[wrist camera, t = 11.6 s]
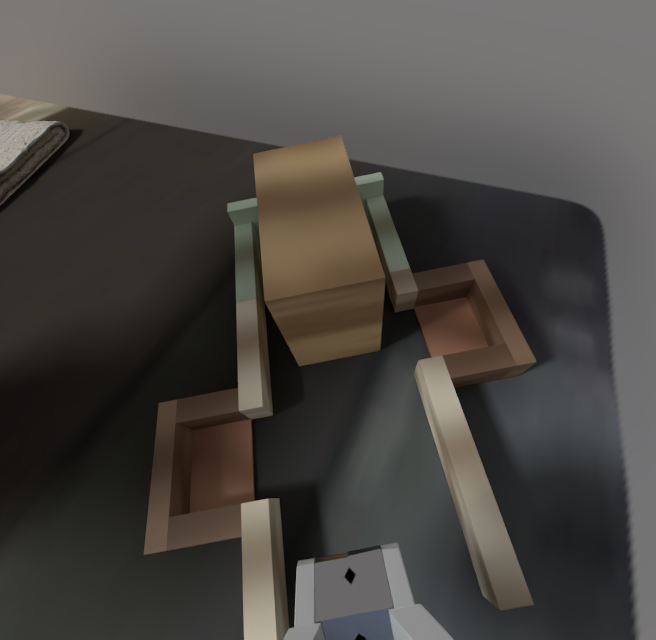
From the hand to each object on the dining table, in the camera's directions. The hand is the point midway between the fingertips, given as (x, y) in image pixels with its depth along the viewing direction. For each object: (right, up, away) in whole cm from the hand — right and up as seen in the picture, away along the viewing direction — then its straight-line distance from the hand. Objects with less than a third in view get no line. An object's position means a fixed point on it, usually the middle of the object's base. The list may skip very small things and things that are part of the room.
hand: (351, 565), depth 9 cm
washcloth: (-43, +25, +32) cm, 59 cm away
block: (-1, +10, +17) cm, 19 cm away
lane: (0, +4, +13) cm, 14 cm away
